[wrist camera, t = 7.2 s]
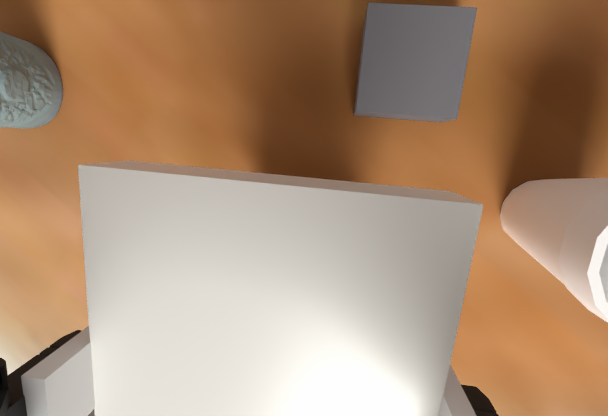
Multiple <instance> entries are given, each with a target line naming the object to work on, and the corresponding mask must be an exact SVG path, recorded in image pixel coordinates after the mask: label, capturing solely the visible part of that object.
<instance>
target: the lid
mask: <svg viewBox="0 0 608 416" xmlns="http://www.w3.org/2000/svg"><path fill="white" fill-rule="evenodd" d="M78 172H79V186H80V201H81V216H82V231H83V245H84V260H85V275H86V290H87V304H88V319H89V334H90V342H91V355H92V370H93V384H94V399H95V416H439V411H440V406H441V401H442V397H443V394H444V391H445V386H446V381H447V376H448V372H449V367H450V362H451V357H452V353H453V348H454V343H455V338H456V333H457V329H458V324H459V319H460V314H461V310H462V305H463V300H464V295H465V291H466V286H467V281H468V276H469V271H470V267H471V262H472V257H473V252H474V248H475V243H476V238H477V233H478V228H479V224H480V219H481V214H482V209H483V204H481V203H478V202H476V201H473V200H471V199H469V198H466V197H464V196H461V195H459V194H457V193H454V192H452V191H444V190H434V189H423V188H413V187H402V186H392V185H381V184H371V183H360V182H350V181H340V180H329V179H319V178H308V177H298V176H287V175H277V174H266V173H256V172H246V171H235V170H225V169H214V168H204V167H193V166H183V165H173V164H162V163H152V162H141V161H131V160H130V161H118V162H106V163H93V164H81V165H78Z"/></svg>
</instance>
